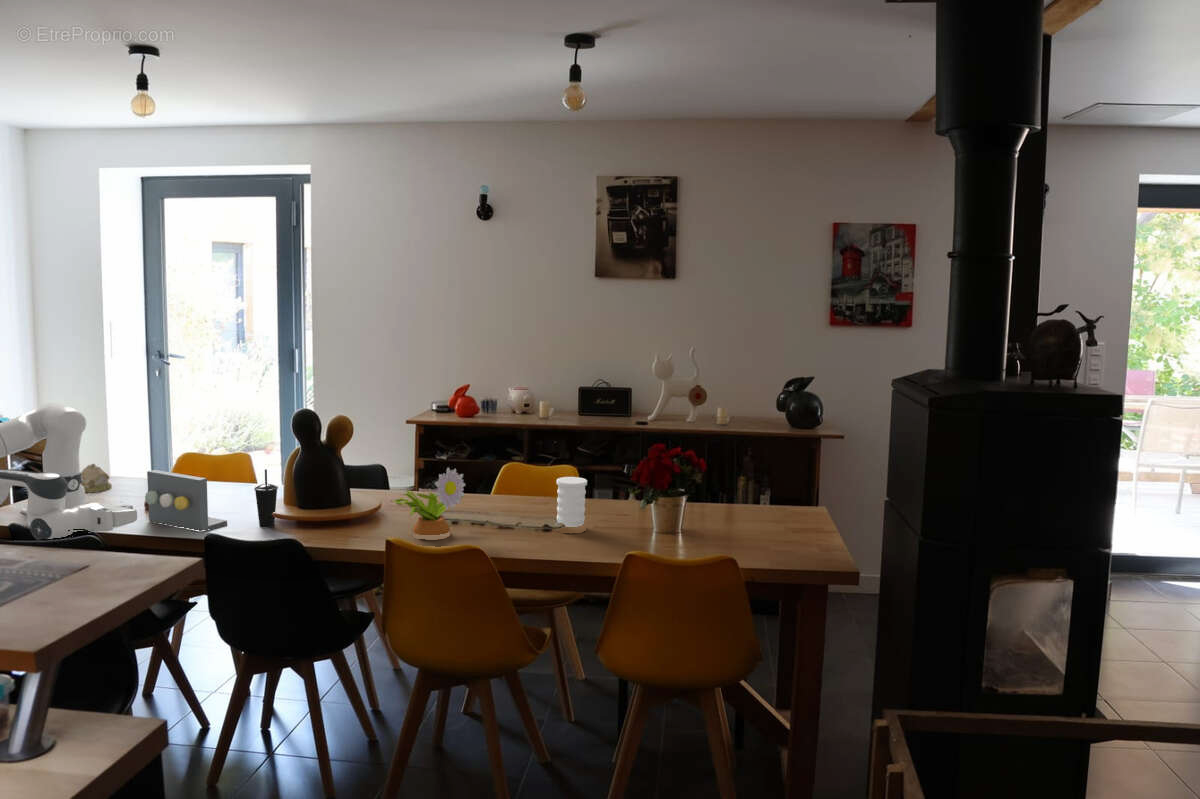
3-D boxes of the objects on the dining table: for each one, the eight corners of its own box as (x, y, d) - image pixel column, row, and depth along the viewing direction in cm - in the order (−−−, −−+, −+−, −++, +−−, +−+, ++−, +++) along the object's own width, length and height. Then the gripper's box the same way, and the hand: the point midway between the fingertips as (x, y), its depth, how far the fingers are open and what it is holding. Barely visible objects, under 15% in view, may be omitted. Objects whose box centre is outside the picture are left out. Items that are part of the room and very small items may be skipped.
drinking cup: (253, 529, 300) (252, 472, 297) (256, 523, 307) (255, 467, 305) (277, 528, 302) (276, 471, 299) (279, 522, 309) (278, 466, 307)
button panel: (149, 522, 305) (147, 471, 302) (176, 514, 315) (174, 465, 312) (201, 532, 295) (199, 480, 292) (227, 524, 305) (225, 474, 302)
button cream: (159, 506, 296) (159, 493, 296) (164, 505, 298) (164, 492, 297) (169, 508, 294) (168, 495, 294) (174, 506, 296) (173, 494, 296)
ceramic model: (118, 488, 350) (117, 463, 349) (90, 493, 341) (89, 468, 339) (97, 483, 357) (96, 459, 356) (69, 488, 347) (68, 464, 346)
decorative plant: (427, 549, 284) (427, 474, 280) (377, 535, 297) (377, 463, 294) (484, 532, 306) (485, 461, 302) (434, 519, 319) (435, 452, 316)
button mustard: (174, 509, 293) (174, 496, 293) (179, 507, 295) (179, 495, 295) (183, 511, 292) (183, 498, 291) (189, 509, 293) (188, 496, 293)
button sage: (145, 503, 299) (144, 491, 299) (150, 502, 301) (150, 490, 300) (154, 505, 297) (154, 492, 297) (159, 504, 299) (159, 491, 299)
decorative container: (558, 535, 305) (559, 484, 302) (551, 525, 316) (552, 477, 313) (590, 533, 308) (591, 483, 305) (582, 524, 319) (583, 476, 316)
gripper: (68, 522, 276) (108, 512, 288) (112, 532, 267) (152, 521, 280) (67, 503, 275) (108, 494, 287) (111, 511, 266) (151, 502, 279)
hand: (130, 507), depth 283 cm, fingers closed
